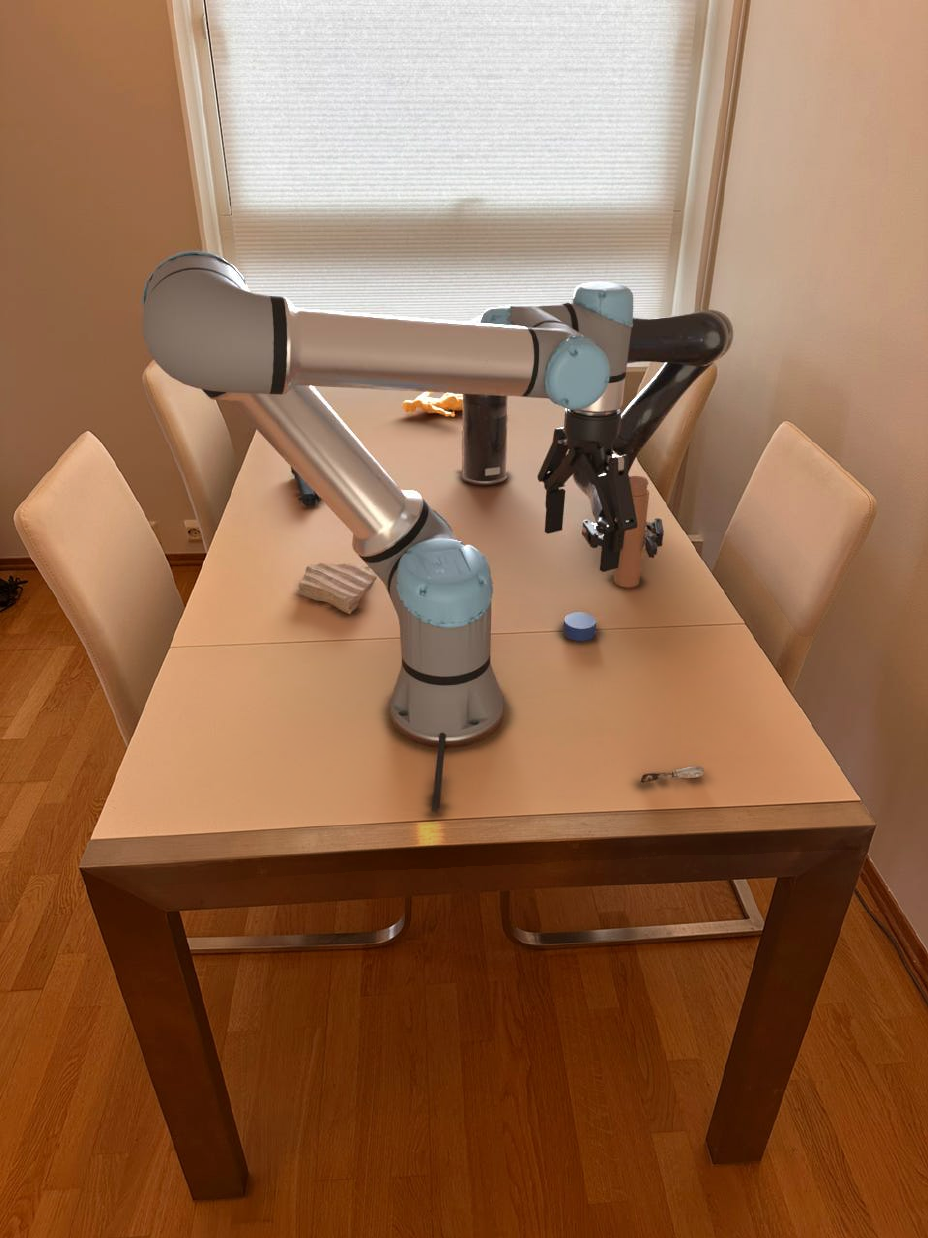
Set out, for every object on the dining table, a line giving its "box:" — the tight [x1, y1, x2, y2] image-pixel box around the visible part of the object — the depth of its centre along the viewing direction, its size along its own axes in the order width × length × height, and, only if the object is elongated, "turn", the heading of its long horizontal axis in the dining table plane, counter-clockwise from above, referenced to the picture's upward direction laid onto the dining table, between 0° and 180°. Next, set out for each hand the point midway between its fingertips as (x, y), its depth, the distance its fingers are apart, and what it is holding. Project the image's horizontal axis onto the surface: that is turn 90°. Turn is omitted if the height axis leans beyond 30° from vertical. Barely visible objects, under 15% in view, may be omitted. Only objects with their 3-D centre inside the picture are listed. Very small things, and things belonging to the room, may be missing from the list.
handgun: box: [290, 466, 320, 507], centre depth 184 cm, size 3×18×12 cm
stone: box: [297, 562, 378, 615], centre depth 148 cm, size 13×12×2 cm
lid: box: [562, 611, 597, 642], centre depth 137 cm, size 5×5×2 cm
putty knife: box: [640, 765, 705, 784], centre depth 109 cm, size 1×8×2 cm, turn 103°
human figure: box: [402, 392, 462, 418], centre depth 225 cm, size 20×20×4 cm
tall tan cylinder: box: [613, 475, 650, 588], centre depth 146 cm, size 4×4×18 cm
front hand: (580, 549), depth 130 cm, fingers open, 13 cm apart
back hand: (633, 553), depth 146 cm, fingers open, 6 cm apart
